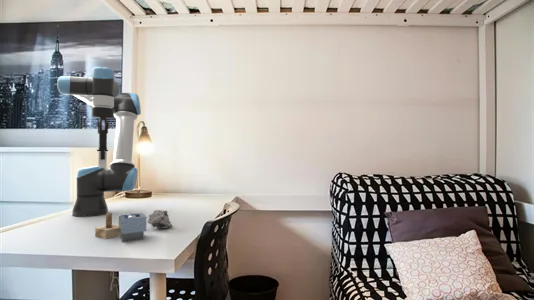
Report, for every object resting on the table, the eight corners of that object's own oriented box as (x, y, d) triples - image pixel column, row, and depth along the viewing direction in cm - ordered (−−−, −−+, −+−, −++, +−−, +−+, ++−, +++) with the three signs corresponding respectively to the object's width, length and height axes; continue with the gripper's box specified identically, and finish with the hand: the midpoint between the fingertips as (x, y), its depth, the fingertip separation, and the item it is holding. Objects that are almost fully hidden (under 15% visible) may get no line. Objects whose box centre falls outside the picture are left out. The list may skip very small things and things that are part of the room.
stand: (95, 236, 111) (95, 214, 111) (111, 232, 117) (111, 211, 117) (105, 238, 108) (105, 216, 108) (122, 234, 114) (122, 213, 114)
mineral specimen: (167, 240, 124) (147, 231, 126) (178, 224, 129) (159, 216, 132) (162, 228, 117) (141, 219, 120) (174, 211, 122) (153, 203, 125)
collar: (118, 228, 110) (118, 215, 110) (142, 226, 115) (142, 212, 115) (121, 234, 104) (121, 219, 104) (146, 231, 108) (146, 216, 108)
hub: (120, 237, 110) (120, 215, 110) (140, 234, 114) (141, 213, 114) (122, 242, 105) (122, 218, 105) (143, 239, 108) (143, 216, 108)
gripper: (91, 108, 123) (91, 167, 123) (91, 104, 112) (91, 169, 112) (112, 110, 127) (112, 167, 127) (114, 106, 116) (114, 168, 116)
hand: (102, 167), depth 119 cm, fingers closed
